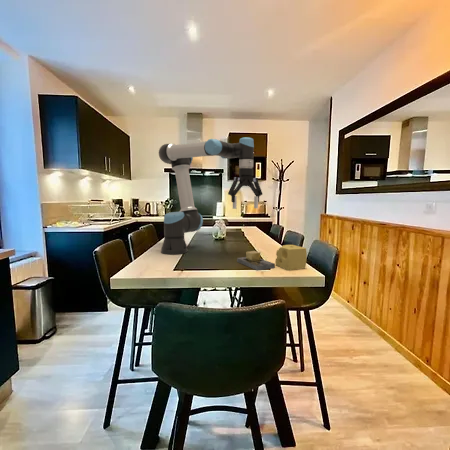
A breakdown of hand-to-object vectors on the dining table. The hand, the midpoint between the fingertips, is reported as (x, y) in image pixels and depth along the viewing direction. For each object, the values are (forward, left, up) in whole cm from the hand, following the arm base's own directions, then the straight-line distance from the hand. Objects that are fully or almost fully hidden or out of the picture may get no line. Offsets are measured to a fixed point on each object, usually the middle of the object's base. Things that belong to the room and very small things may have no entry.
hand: (245, 208), depth 149 cm
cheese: (+27, +9, -27) cm, 39 cm away
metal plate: (+16, -4, -27) cm, 31 cm away
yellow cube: (+14, -4, -27) cm, 31 cm away
